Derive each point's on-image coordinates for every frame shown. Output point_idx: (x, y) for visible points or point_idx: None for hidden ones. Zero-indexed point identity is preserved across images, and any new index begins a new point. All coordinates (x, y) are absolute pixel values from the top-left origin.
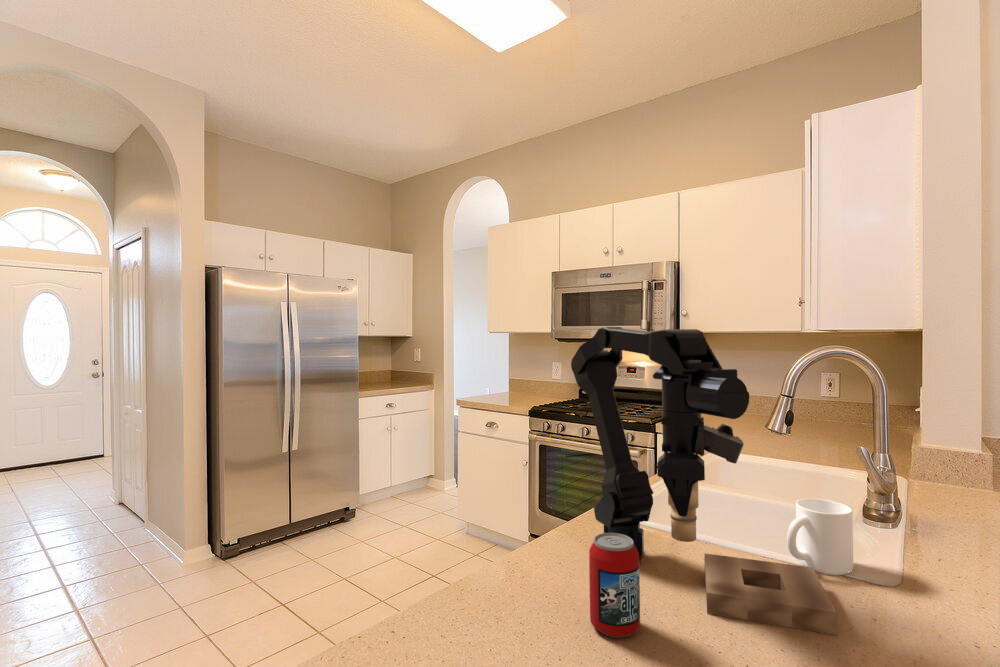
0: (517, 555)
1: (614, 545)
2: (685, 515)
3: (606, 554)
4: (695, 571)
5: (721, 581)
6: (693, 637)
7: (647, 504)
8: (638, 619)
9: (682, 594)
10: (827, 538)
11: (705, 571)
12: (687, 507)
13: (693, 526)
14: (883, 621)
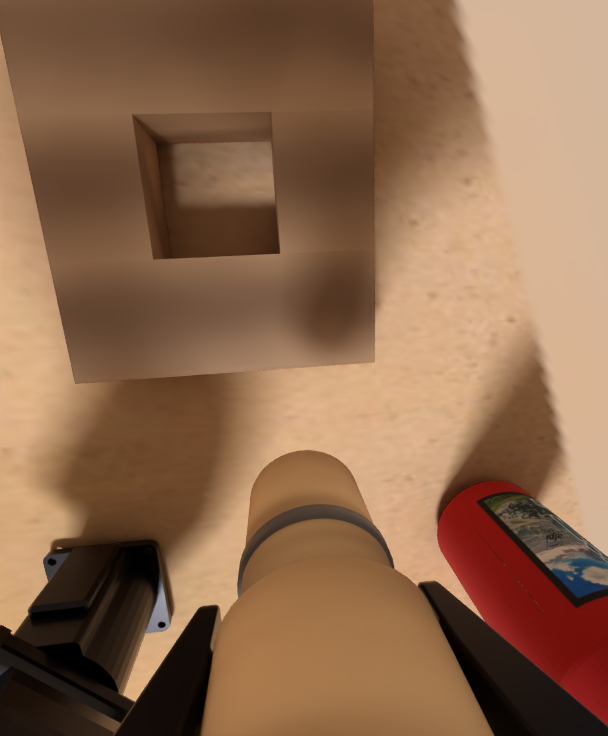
0: None
1: None
2: (440, 589)
3: None
4: (122, 393)
5: (284, 323)
6: (471, 373)
7: (13, 726)
8: (515, 492)
9: (284, 413)
10: None
11: (228, 372)
12: (499, 635)
13: (351, 497)
14: None
